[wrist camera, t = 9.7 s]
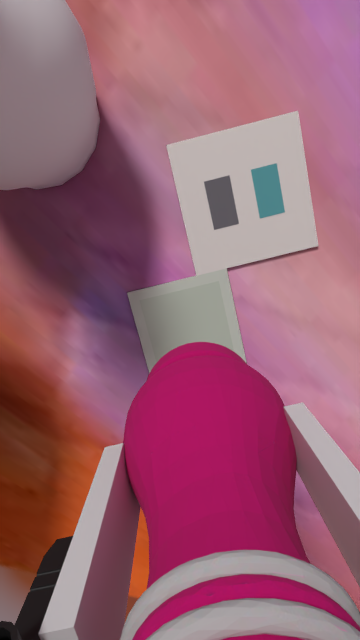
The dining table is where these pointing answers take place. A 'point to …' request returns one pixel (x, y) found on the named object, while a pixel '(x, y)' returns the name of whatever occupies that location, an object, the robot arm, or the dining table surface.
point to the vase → (44, 95)
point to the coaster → (186, 315)
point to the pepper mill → (222, 509)
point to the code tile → (244, 193)
